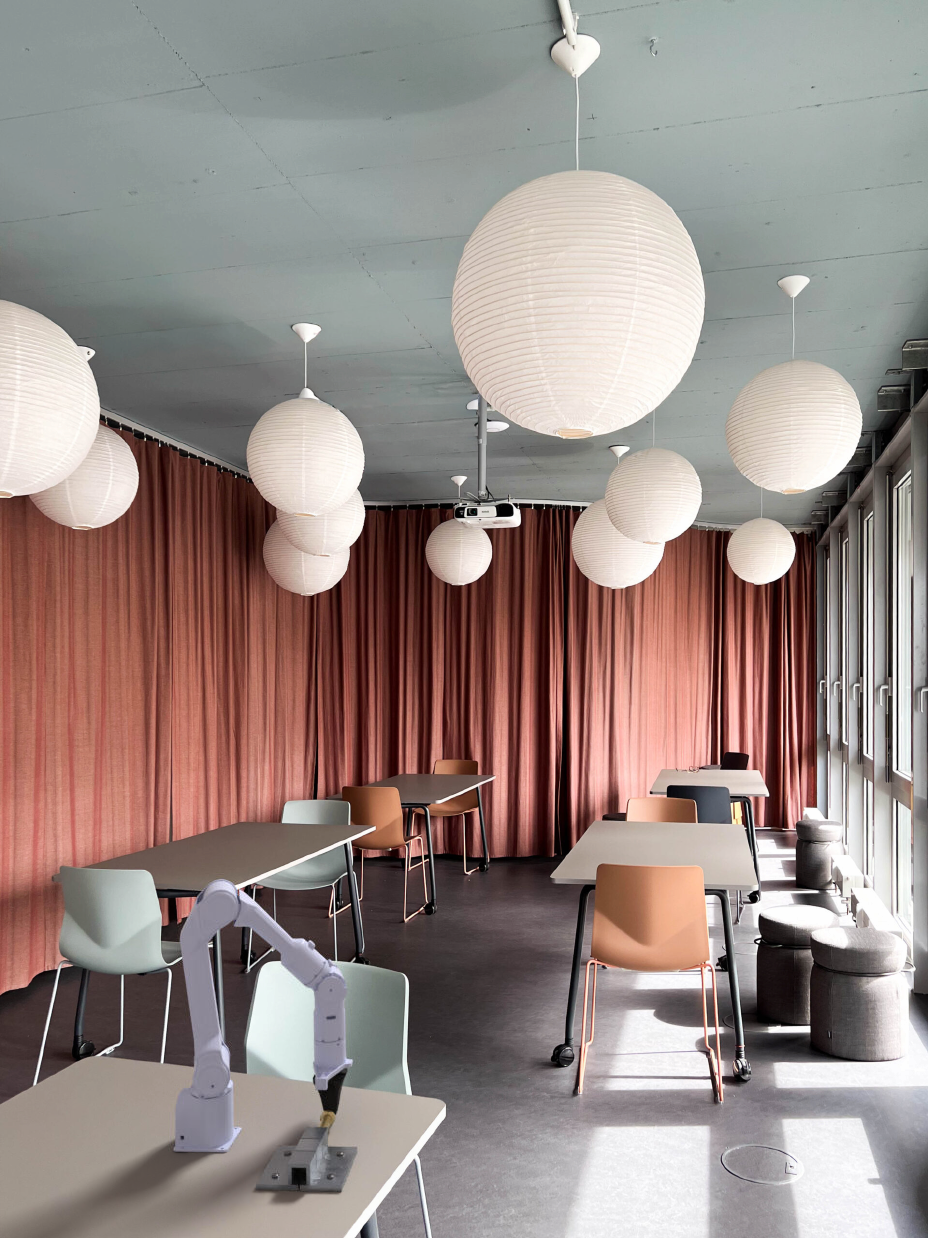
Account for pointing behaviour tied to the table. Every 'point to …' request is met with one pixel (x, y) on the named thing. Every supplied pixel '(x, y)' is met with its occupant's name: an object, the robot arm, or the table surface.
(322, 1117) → the pin
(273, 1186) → the hinge
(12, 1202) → the table surface
